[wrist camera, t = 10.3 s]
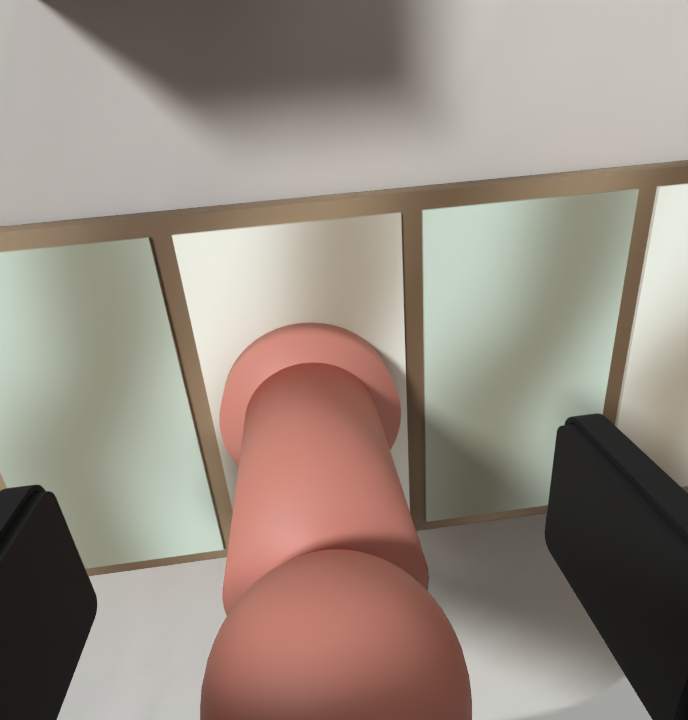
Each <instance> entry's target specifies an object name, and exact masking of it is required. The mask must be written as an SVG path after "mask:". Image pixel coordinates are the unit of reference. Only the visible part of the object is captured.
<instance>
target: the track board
mask: <svg viewBox="0 0 688 720" xmlns="http://www.w3.org/2000/svg"><path fill="white" fill-rule="evenodd" d="M310 322H314V323H325V324H330V325H335V326H338V327H341V328H344V329H347V330H349V331H351V332H353V333H355V334H357V335H359V336H360V337H362V338H363V339H365V340H366V341H367V342H368V343H369V344H371V345H372V346H373V347H374V348H375V349H376V351H377V352H378V353H379V354H380V355H381V357H382V359H383V360H384V362H385V363H386V365H387V368H388V370H389V372H390V375H391V377H392V379H393V382H394V384H395V387H396V389H397V392H398V395H399V399H400V405H401V422H400V427H399V432H398V435H397V438H396V441H395V443H394V444H393V446H392V448H391V450H390V452H391V455H392V458H393V461H394V464H395V467H396V470H397V474H398V477H399V480H400V483H401V486H402V489H403V492H404V495H405V499H406V502H407V505H408V508H409V511H410V514H411V517H412V520H413V524H414V527H415V530H416V531H419V530H426V529H433V528H440V527H448V526H455V525H462V524H469V523H476V522H484V521H491V520H498V519H505V518H513V517H520V516H527V515H534V514H541V513H547V509H548V501H549V492H550V484H551V476H552V467H553V459H554V451H555V442H556V434H557V429H558V428H559V426H562V425H565V421H566V420H567V418H569V417H572V416H580V415H588V414H596V413H599V414H602V415H604V416H605V417H606V418H607V419H608V420H610V421H611V422H612V423H613V424H614V425H615V426H616V427H617V428H618V429H619V430H620V431H621V432H622V433H623V434H625V435H626V436H627V437H628V438H629V439H630V440H631V441H632V442H633V443H634V444H635V445H636V446H637V447H639V448H640V449H641V450H642V451H643V452H644V453H645V454H646V455H647V456H648V457H649V458H650V459H651V460H653V461H654V462H655V463H656V464H657V465H658V466H659V467H660V468H661V469H662V470H663V471H664V472H665V473H667V474H668V475H669V476H670V477H671V478H672V479H673V480H674V481H675V482H676V483H677V484H678V485H679V486H681V487H682V488H683V489H684V490H685V491H686V492H687V493H688V160H685V161H674V162H664V163H654V164H643V165H633V166H623V167H612V168H602V169H592V170H581V171H571V172H560V173H550V174H540V175H529V176H519V177H509V178H498V179H488V180H478V181H467V182H457V183H447V184H436V185H426V186H415V187H405V188H395V189H384V190H374V191H364V192H353V193H343V194H333V195H322V196H312V197H301V198H291V199H281V200H270V201H260V202H250V203H239V204H229V205H219V206H208V207H198V208H188V209H177V210H167V211H156V212H146V213H136V214H125V215H115V216H105V217H94V218H84V219H74V220H63V221H53V222H43V223H32V224H22V225H11V226H1V227H0V491H1V490H3V489H5V488H13V487H20V486H28V485H36V484H37V485H41V486H42V487H43V488H44V489H45V491H51V492H53V493H54V495H55V496H56V498H57V501H58V503H59V506H60V508H61V511H62V513H63V515H64V518H65V520H66V523H67V525H68V528H69V530H70V533H71V535H72V538H73V540H74V542H75V545H76V547H77V550H78V552H79V555H80V557H81V560H82V562H83V565H84V567H85V570H86V572H87V574H88V576H93V575H101V574H108V573H115V572H122V571H130V570H137V569H144V568H151V567H159V566H166V565H173V564H180V563H187V562H195V561H202V560H209V559H216V558H224V557H227V553H228V545H229V537H230V529H231V522H232V514H233V506H234V499H235V491H236V483H237V475H238V468H239V466H238V465H237V464H236V463H235V462H234V461H233V459H232V458H231V456H230V455H229V453H228V451H227V449H226V447H225V445H224V443H223V439H222V436H221V432H220V425H219V413H220V407H221V401H222V397H223V392H224V388H225V383H226V380H227V377H228V374H229V372H230V370H231V368H232V366H233V364H234V362H235V361H236V359H237V358H238V357H239V355H240V354H241V353H242V352H243V351H244V350H245V349H246V348H247V347H248V346H249V345H250V344H251V343H253V342H254V341H255V340H256V339H258V338H260V337H261V336H263V335H264V334H266V333H268V332H270V331H273V330H275V329H277V328H280V327H284V326H287V325H292V324H297V323H310Z"/></svg>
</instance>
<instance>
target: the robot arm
mask: <svg viewBox="0 0 688 720" xmlns="http://www.w3.org/2000/svg"><path fill="white" fill-rule="evenodd" d="M545 540H546V544H547V547H548V549H549V551H550V553H551V555H552V556H553V558H554V560H555V561H556V563H557V564H558V566H559V568H560V569H561V571H562V573H563V574H564V576H565V577H566V579H567V581H568V582H569V584H570V586H571V587H572V589H573V591H574V592H575V594H576V595H577V597H578V599H579V600H580V602H581V604H582V605H583V607H584V608H585V610H586V612H587V613H588V615H589V617H590V618H591V620H592V622H593V623H594V625H595V626H596V628H597V630H598V631H599V633H600V635H601V636H602V638H603V639H604V641H605V643H606V644H607V646H608V648H609V649H610V651H611V653H612V654H613V656H614V657H615V659H616V661H617V662H618V664H619V666H620V667H621V669H622V670H623V672H624V674H625V675H626V677H627V679H628V680H629V682H630V684H631V685H632V687H633V688H634V690H635V692H636V693H637V695H638V697H639V698H640V700H641V701H642V703H643V705H644V706H645V708H646V710H647V711H648V713H649V715H650V716H651V718H652V719H653V720H688V493H687V492H686V491H685V490H684V489H683V488H682V487H681V486H679V485H678V484H677V483H676V482H675V481H674V480H673V479H672V478H671V477H670V476H669V475H668V474H667V473H665V472H664V471H663V470H662V469H661V468H660V467H659V466H658V465H657V464H656V463H655V462H654V461H653V460H651V459H650V458H649V457H648V456H647V455H646V454H645V453H644V452H643V451H642V450H641V449H640V448H639V447H637V446H636V445H635V444H634V443H633V442H632V441H631V440H630V439H629V438H628V437H627V436H626V435H625V434H623V433H622V432H621V431H620V430H619V429H618V428H617V427H616V426H615V425H614V424H613V423H612V422H611V421H610V420H608V419H607V418H606V417H605V416H604V415H602V414H599V413H596V414H588V415H580V416H572V417H569V418H567V420H566V421H565V425H562V426H559V428H558V429H557V434H556V442H555V451H554V459H553V467H552V476H551V484H550V492H549V501H548V509H547V517H546V526H545ZM96 611H97V598H96V594H95V592H94V589H93V587H92V584H91V582H90V579H89V577H88V574H87V572H86V570H85V567H84V565H83V562H82V560H81V557H80V555H79V552H78V550H77V547H76V545H75V542H74V540H73V538H72V535H71V533H70V530H69V528H68V525H67V523H66V520H65V518H64V515H63V513H62V511H61V508H60V506H59V503H58V501H57V498H56V496H55V495H54V493H53V492H51V491H45V489H44V488H43V487H42V486H41V485H37V484H36V485H28V486H20V487H13V488H5V489H3V490H1V491H0V720H56V719H57V717H58V714H59V712H60V709H61V706H62V704H63V701H64V698H65V696H66V693H67V690H68V688H69V685H70V682H71V680H72V677H73V674H74V672H75V669H76V667H77V664H78V661H79V659H80V656H81V653H82V651H83V648H84V645H85V643H86V640H87V637H88V635H89V632H90V629H91V627H92V624H93V621H94V619H95V616H96Z"/></svg>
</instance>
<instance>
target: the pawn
mask: <svg viewBox="0 0 688 720" xmlns="http://www.w3.org/2000/svg"><path fill="white" fill-rule="evenodd" d="M400 422H401V405H400V399H399V395H398V392H397V389H396V387H395V384H394V382H393V379H392V377H391V375H390V372H389V370H388V368H387V365H386V363H385V362H384V360H383V359H382V357H381V355H380V354H379V353H378V352H377V351H376V349H375V348H374V347H373V346H372V345H371V344H369V343H368V342H367V341H366V340H365V339H363V338H362V337H360V336H359V335H357V334H355V333H353V332H351V331H349V330H347V329H344V328H341V327H338V326H335V325H330V324H325V323H314V322H310V323H297V324H292V325H287V326H284V327H280V328H277V329H275V330H273V331H270V332H268V333H266V334H264V335H263V336H261V337H260V338H258V339H256V340H255V341H254V342H253V343H251V344H250V345H249V346H248V347H247V348H246V349H245V350H244V351H243V352H242V353H241V354H240V355H239V357H238V358H237V359H236V361H235V362H234V364H233V366H232V368H231V370H230V372H229V374H228V377H227V380H226V383H225V388H224V392H223V397H222V401H221V407H220V413H219V425H220V432H221V436H222V439H223V443H224V445H225V447H226V449H227V451H228V453H229V455H230V456H231V458H232V459H233V461H234V462H235V463H236V464H237V465H238V466H239V468H238V475H237V483H236V491H235V499H234V506H233V514H232V522H231V529H230V537H229V545H228V553H227V560H226V568H225V576H224V584H223V604H224V609H225V612H226V615H227V617H226V619H225V621H224V622H223V624H222V626H221V628H220V630H219V632H218V634H217V636H216V639H215V641H214V644H213V646H212V649H211V652H210V655H209V657H208V661H207V666H206V670H205V675H204V680H203V684H202V691H201V705H200V720H472V699H471V688H470V680H469V674H468V670H467V666H466V663H465V659H464V655H463V652H462V648H461V646H460V643H459V641H458V638H457V636H456V633H455V631H454V629H453V627H452V625H451V624H450V622H449V620H448V618H447V617H446V615H445V613H444V612H443V610H442V608H441V607H440V606H439V605H438V603H437V602H436V601H435V599H434V598H433V597H432V596H431V595H430V593H429V592H428V591H427V590H428V581H429V576H428V568H427V565H426V561H425V558H424V555H423V552H422V549H421V545H420V542H419V539H418V536H417V533H416V530H415V527H414V524H413V520H412V517H411V514H410V511H409V508H408V505H407V502H406V499H405V495H404V492H403V489H402V486H401V483H400V480H399V477H398V474H397V470H396V467H395V464H394V461H393V458H392V455H391V452H390V450H391V448H392V446H393V444H394V443H395V441H396V438H397V435H398V432H399V427H400Z"/></svg>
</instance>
